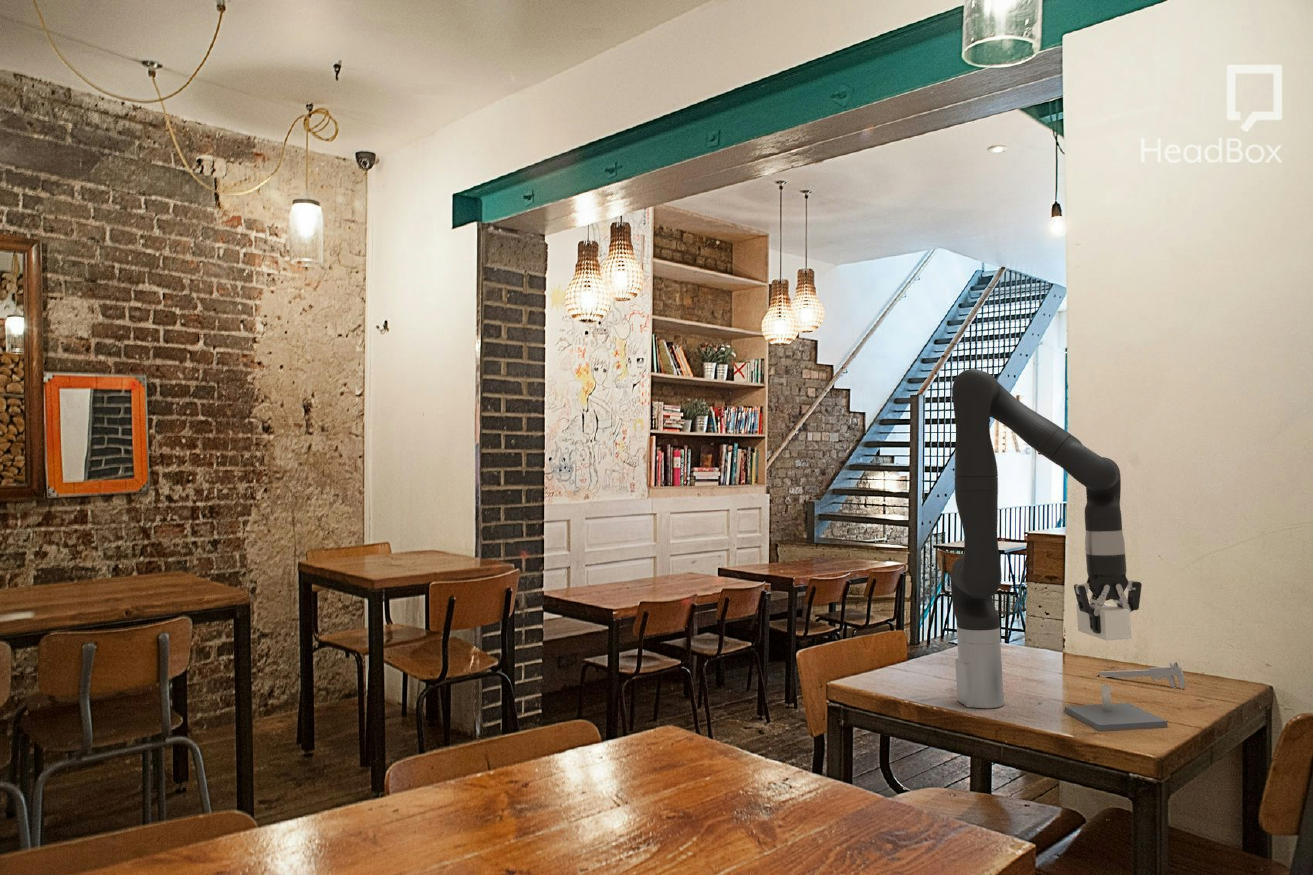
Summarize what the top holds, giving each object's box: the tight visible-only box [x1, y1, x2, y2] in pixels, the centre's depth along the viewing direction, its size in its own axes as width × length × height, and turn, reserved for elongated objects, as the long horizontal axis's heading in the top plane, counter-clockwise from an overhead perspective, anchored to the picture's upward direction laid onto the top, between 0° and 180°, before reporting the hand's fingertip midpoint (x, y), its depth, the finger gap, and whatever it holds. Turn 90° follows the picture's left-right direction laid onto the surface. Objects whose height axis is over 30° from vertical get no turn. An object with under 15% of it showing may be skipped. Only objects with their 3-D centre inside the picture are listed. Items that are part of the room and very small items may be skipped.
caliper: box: [1096, 661, 1186, 690], centre depth 216 cm, size 20×1×6 cm, turn 40°
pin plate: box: [1064, 684, 1168, 732], centre depth 188 cm, size 14×14×6 cm
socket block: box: [1075, 602, 1132, 642], centre depth 194 cm, size 5×11×6 cm, turn 4°
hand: (1110, 631), depth 191 cm, fingers closed on socket block, 5 cm apart
